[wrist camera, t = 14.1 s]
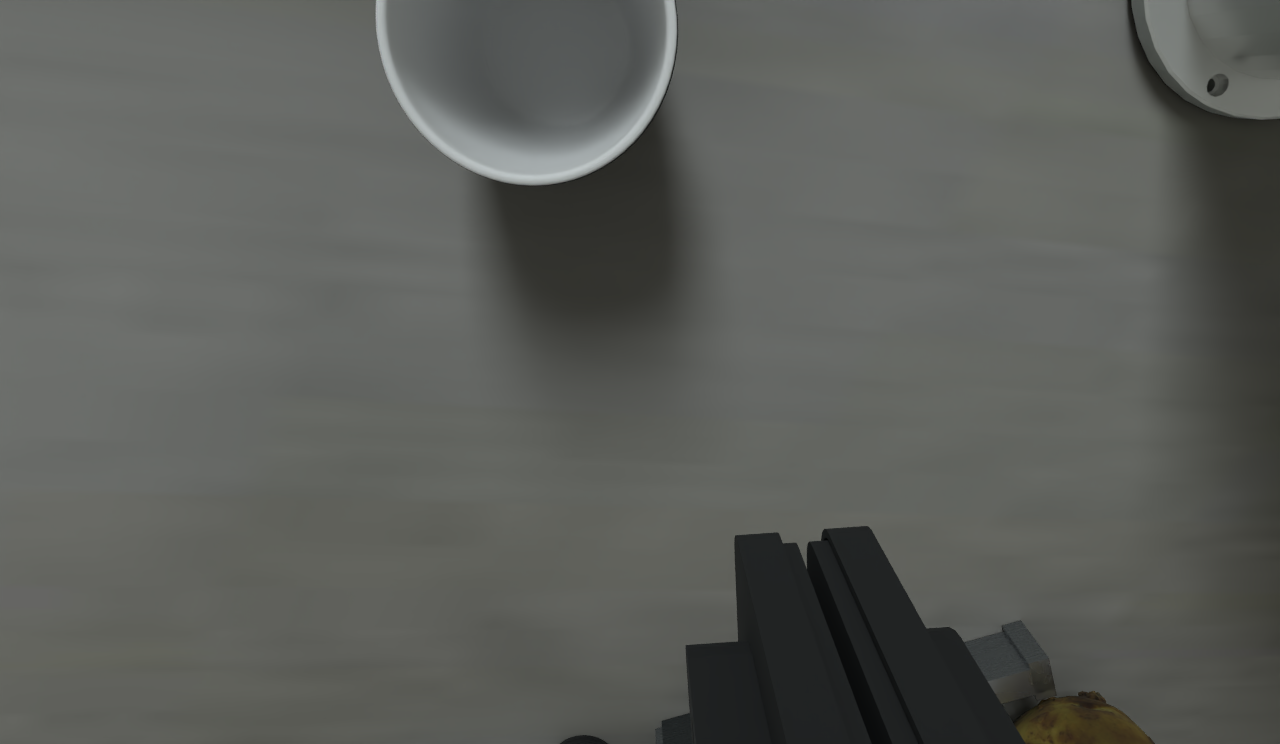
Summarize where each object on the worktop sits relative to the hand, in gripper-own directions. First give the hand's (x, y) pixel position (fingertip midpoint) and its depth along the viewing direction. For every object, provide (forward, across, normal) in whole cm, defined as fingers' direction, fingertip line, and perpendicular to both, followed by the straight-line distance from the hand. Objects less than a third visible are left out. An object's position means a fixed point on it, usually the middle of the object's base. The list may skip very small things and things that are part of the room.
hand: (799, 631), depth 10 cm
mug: (+27, +4, -10) cm, 29 cm away
